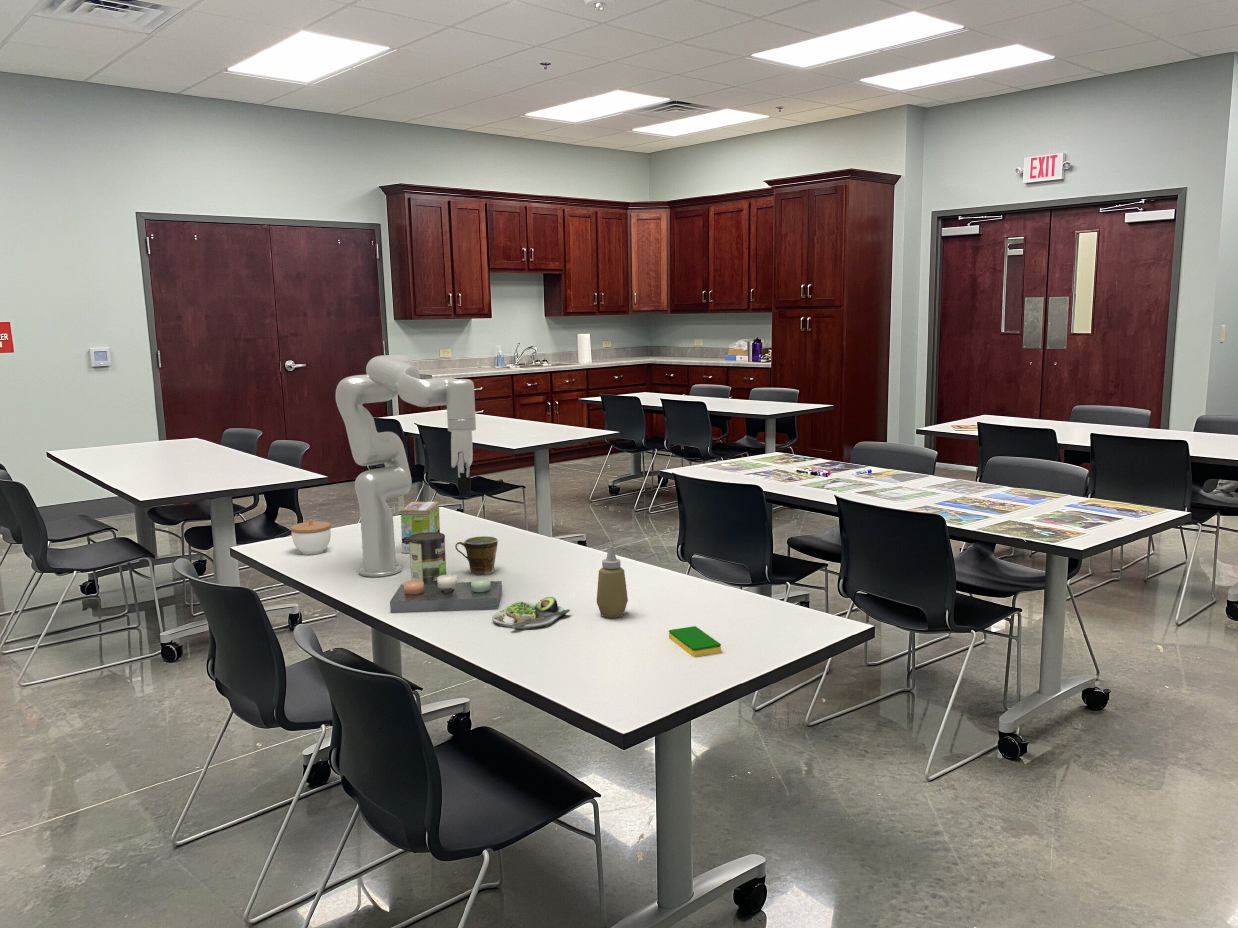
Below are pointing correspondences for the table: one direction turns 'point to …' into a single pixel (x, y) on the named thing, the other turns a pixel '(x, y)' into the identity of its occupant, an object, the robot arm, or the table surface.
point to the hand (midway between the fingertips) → (464, 491)
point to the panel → (446, 598)
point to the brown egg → (414, 587)
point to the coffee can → (427, 556)
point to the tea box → (418, 521)
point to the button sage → (480, 585)
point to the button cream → (447, 582)
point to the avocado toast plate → (530, 614)
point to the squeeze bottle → (611, 587)
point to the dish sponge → (694, 641)
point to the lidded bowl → (311, 536)
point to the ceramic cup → (480, 554)
